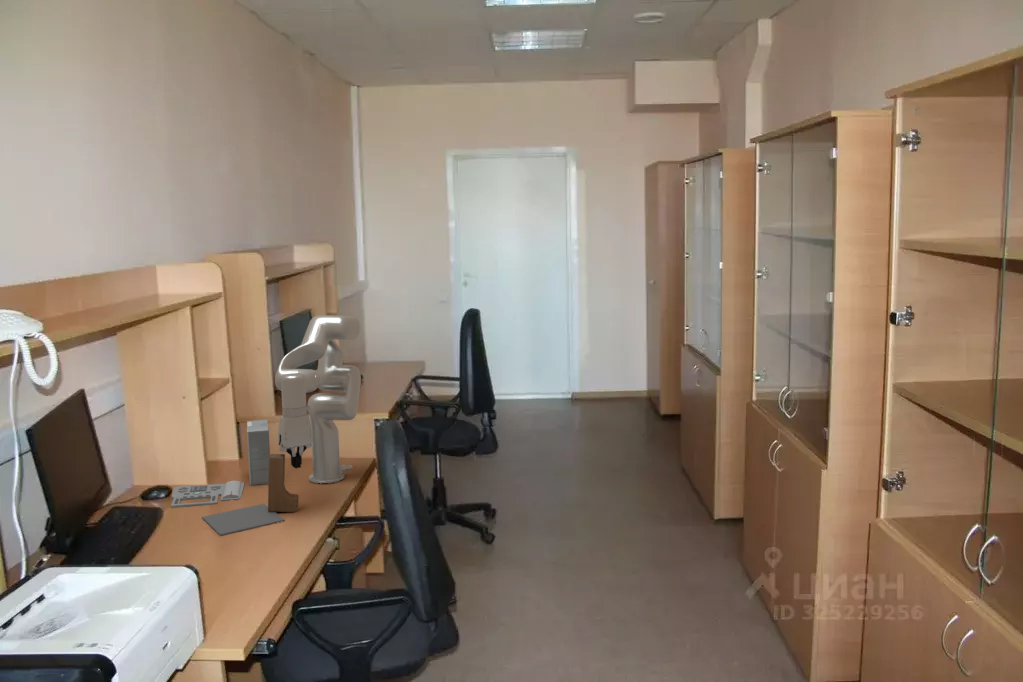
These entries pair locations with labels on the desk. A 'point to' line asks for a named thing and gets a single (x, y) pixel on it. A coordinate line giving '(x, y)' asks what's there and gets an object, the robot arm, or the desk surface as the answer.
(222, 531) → the mat
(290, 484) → the desk surface
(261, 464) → the hard drive box
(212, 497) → the office telephone
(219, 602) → the desk surface
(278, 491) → the wooden block
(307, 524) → the desk surface
